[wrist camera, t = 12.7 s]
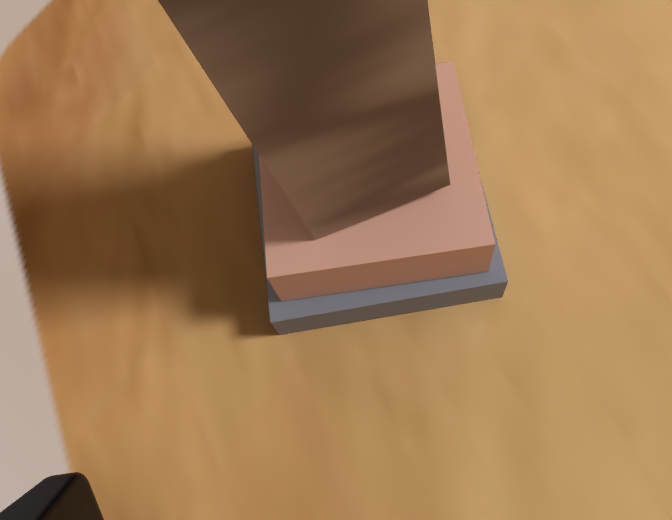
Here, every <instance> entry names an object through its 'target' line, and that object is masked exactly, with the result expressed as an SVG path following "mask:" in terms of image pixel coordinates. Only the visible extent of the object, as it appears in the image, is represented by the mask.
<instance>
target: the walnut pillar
mask: <svg viewBox="0 0 672 520" xmlns="http://www.w3.org/2000/svg"><path fill="white" fill-rule="evenodd" d="M158 1H159V2H160V4H161V5H162V7H163V8H164V10H165V12H166V13H167V15H168V16H169V18H170V19H171V21H172V22H173V24H174V25H175V27H176V28H177V30H178V31H179V33H180V34H181V36H182V37H183V39H184V41H185V42H186V44H187V45H188V47H189V48H190V50H191V51H192V53H193V54H194V56H195V57H196V59H197V60H198V62H199V63H200V65H201V66H202V68H203V70H204V71H205V73H206V74H207V76H208V77H209V79H210V80H211V82H212V83H213V85H214V86H215V88H216V89H217V91H218V92H219V94H220V95H221V97H222V99H223V100H224V102H225V103H226V105H227V106H228V108H229V109H230V111H231V112H232V114H233V115H234V117H235V118H236V120H237V121H238V123H239V124H240V126H241V128H242V129H243V131H244V132H245V134H246V135H247V137H248V138H249V140H250V141H251V143H252V144H253V146H254V147H255V149H256V150H257V152H258V153H259V155H260V157H261V158H262V160H263V161H264V163H265V164H266V166H267V167H268V169H269V170H270V172H271V173H272V175H273V176H274V178H275V179H276V181H277V182H278V184H279V186H280V187H281V189H282V190H283V192H284V193H285V195H286V196H287V198H288V199H289V201H290V202H291V204H292V205H293V207H294V208H295V210H296V211H297V213H298V215H299V216H300V218H301V219H302V221H303V222H304V224H305V225H306V227H307V228H308V230H309V231H310V233H311V234H312V236H313V237H314V239H315V240H317V239H320V238H322V237H324V236H327V235H329V234H332V233H334V232H337V231H339V230H341V229H344V228H346V227H349V226H351V225H354V224H356V223H359V222H361V221H363V220H366V219H368V218H371V217H373V216H376V215H378V214H380V213H383V212H385V211H388V210H390V209H393V208H395V207H397V206H400V205H402V204H405V203H407V202H410V201H412V200H414V199H417V198H419V197H422V196H424V195H427V194H429V193H432V192H434V191H436V190H439V189H441V188H444V187H446V186H449V185H450V178H449V170H448V162H447V154H446V146H445V138H444V130H443V122H442V114H441V106H440V98H439V90H438V82H437V74H436V66H435V58H434V50H433V42H432V34H431V26H430V18H429V10H428V2H427V0H158Z"/></svg>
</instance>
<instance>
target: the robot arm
mask: <svg viewBox="0 0 672 520" xmlns="http://www.w3.org/2000/svg"><path fill="white" fill-rule="evenodd" d="M0 520H104V519H103V517H102V514H101V511H100V509H99V506H98V504H97V501H96V499H95V496H94V494H93V491H92V489H91V486H90V484H89V482H88V480H87V478H86V477H85V476H84V475H83V474H81V473H78V472H75V473H68V474H61V475H54V476H50V477H47V478H45V479H44V480H43V481H41V482H40V483H39V484H37V485H36V486H35V487H34V488H32V489H31V490H30V491H28V492H27V493H25V494H24V495H23V496H22V497H20V498H19V499H18V500H16V501H15V502H14V503H12V504H11V505H10V506H8V507H7V508H6V509H5V510H3V511H2V512H1V513H0Z"/></svg>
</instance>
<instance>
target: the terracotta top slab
mask: <svg viewBox="0 0 672 520" xmlns="http://www.w3.org/2000/svg"><path fill="white" fill-rule="evenodd" d="M435 66H436V74H437V82H438V90H439V98H440V106H441V114H442V122H443V130H444V138H445V146H446V154H447V162H448V170H449V178H450V185H449V186H446V187H444V188H441V189H439V190H436V191H434V192H432V193H429V194H427V195H424V196H422V197H419V198H417V199H414V200H412V201H410V202H407V203H405V204H402V205H400V206H397V207H395V208H393V209H390V210H388V211H385V212H383V213H380V214H378V215H376V216H373V217H371V218H368V219H366V220H363V221H361V222H359V223H356V224H354V225H351V226H349V227H346V228H344V229H341V230H339V231H337V232H334V233H332V234H329V235H327V236H324V237H322V238H320V239H317V240H315V239H314V237H313V236H312V234H311V233H310V231H309V230H308V228H307V227H306V225H305V224H304V222H303V221H302V219H301V218H300V216H299V215H298V213H297V211H296V210H295V208H294V207H293V205H292V204H291V202H290V201H289V199H288V198H287V196H286V195H285V193H284V192H283V190H282V189H281V187H280V186H279V184H278V182H277V181H276V179H275V178H274V176H273V175H272V173H271V172H270V170H269V169H268V167H267V166H266V164H265V163H264V161H263V160H262V158H261V157H260V155H259V165H260V180H261V195H262V210H263V225H264V240H265V255H266V270H267V279H268V280H269V282H270V284H271V285H272V287H273V288H274V290H275V292H276V293H277V295H278V296H279V298H280V300H281V301H288V300H295V299H302V298H309V297H316V296H323V295H330V294H337V293H344V292H351V291H357V290H364V289H371V288H378V287H385V286H392V285H399V284H406V283H413V282H420V281H427V280H434V279H440V278H447V277H454V276H461V275H468V274H475V273H482V272H489V268H490V264H491V260H492V256H493V252H494V248H495V240H494V236H493V231H492V227H491V223H490V218H489V214H488V210H487V205H486V201H485V197H484V192H483V188H482V183H481V179H480V175H479V170H478V166H477V162H476V157H475V153H474V149H473V144H472V140H471V136H470V131H469V127H468V123H467V118H466V114H465V109H464V105H463V101H462V96H461V92H460V88H459V83H458V79H457V75H456V70H455V66H454V62H447V63H441V64H435Z"/></svg>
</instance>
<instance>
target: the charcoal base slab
mask: <svg viewBox="0 0 672 520" xmlns="http://www.w3.org/2000/svg"><path fill="white" fill-rule="evenodd" d="M252 148H253V158H254V168H255V177H256V187H257V197H258V207H259V217H260V226H261V236H262V246H263V256H264V265H265V275H266V285H267V295H268V304H269V314H270V323H271V324H272V325H273V327H274V328H275V329H276V331H277V332H278V334H279V335H283V334H288V333H294V332H300V331H306V330H312V329H318V328H324V327H330V326H335V325H341V324H347V323H353V322H359V321H365V320H371V319H377V318H382V317H388V316H394V315H400V314H406V313H412V312H418V311H424V310H430V309H435V308H441V307H447V306H453V305H459V304H465V303H471V302H477V301H482V300H488V299H494V298H500V297H502V296H503V294H504V291H505V288H506V285H507V283H508V280H507V276H506V272H505V269H504V265H503V261H502V258H501V254H500V250H499V246H498V243H497V239H496V235H495V231H494V228H493V224H492V220H491V216H490V213H489V209H488V205H487V201H486V198H485V201H486V205H487V210H488V214H489V218H490V223H491V227H492V231H493V236H494V240H495V248H494V252H493V256H492V260H491V264H490V268H489V272H482V273H475V274H468V275H461V276H454V277H447V278H440V279H434V280H427V281H420V282H413V283H406V284H399V285H392V286H385V287H378V288H371V289H364V290H357V291H351V292H344V293H337V294H330V295H323V296H316V297H309V298H302V299H295V300H288V301H281V300H280V298H279V296H278V295H277V293H276V292H275V290H274V288H273V287H272V285H271V284H270V282H269V280H268V279H267V270H266V255H265V240H264V225H263V210H262V195H261V180H260V165H259V153H258V152H257V150H256V149H255V147H254V146H253V144H252ZM482 188H483V186H482ZM483 192H484V190H483ZM484 197H485V194H484Z"/></svg>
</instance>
